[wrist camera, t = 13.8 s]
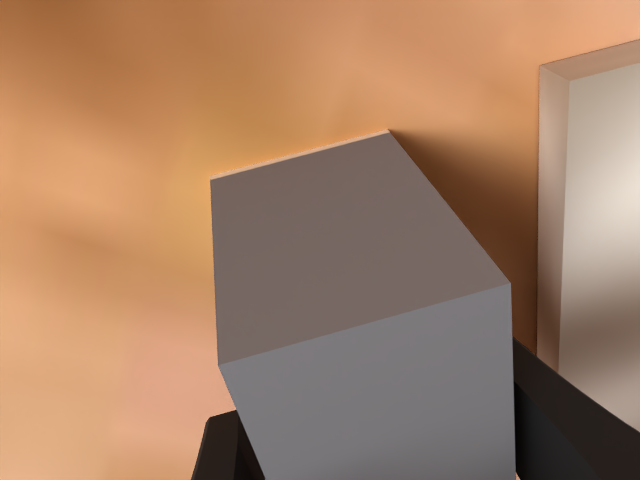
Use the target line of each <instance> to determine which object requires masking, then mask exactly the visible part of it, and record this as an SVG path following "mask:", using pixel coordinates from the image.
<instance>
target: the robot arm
mask: <svg viewBox="0 0 640 480" xmlns="http://www.w3.org/2000/svg"><path fill="white" fill-rule="evenodd" d="M512 345H513V386H514V426H515V466H516V473H517V475H518V476H519V478H520V480H640V432H639V431H638V430H636V429H635V428H633V427H631V426H630V425H628V424H627V423H625V422H624V421H622V420H621V419H620V418H618V417H617V416H615V415H614V414H612V413H611V412H609V411H608V410H607V409H605V408H604V407H602V406H601V405H600V404H598V403H597V402H595V401H594V400H593V399H591V398H590V397H589V396H587V395H586V394H585V393H583V392H582V391H580V390H579V389H578V388H576V387H575V386H574V385H572V384H571V383H570V382H568V381H567V380H566V379H564V378H563V377H562V376H561V375H559V374H558V373H557V372H556V371H554V370H553V369H552V368H550V367H549V366H548V365H547V364H545V363H544V362H543V361H542V360H540V359H539V358H538V357H537V356H536V355H534V354H533V353H532V352H531V351H529V350H528V349H527V348H526V347H525V346H523V345H522V344H521V343H520V342H519V341H517V340H516V339H515V338H514V337H512ZM191 480H266V479H265V476H264V474H263V471H262V469H261V467H260V464H259V462H258V459H257V457H256V455H255V452H254V450H253V447H252V445H251V443H250V440H249V438H248V436H247V433H246V431H245V428H244V426H243V424H242V421H241V419H240V416H239V414H238V412H237V410H234V411H231V412H227V413H224V414H220V415H216V416H213V417H210V418H209V419H208V420H207V422H206V425H205V429H204V434H203V438H202V442H201V446H200V450H199V454H198V457H197V461H196V465H195V468H194V471H193V475H192V478H191Z"/></svg>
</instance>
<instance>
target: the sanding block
mask: <svg viewBox="0 0 640 480" xmlns="http://www.w3.org/2000/svg"><path fill="white" fill-rule="evenodd" d="M210 186H211V210H212V233H213V257H214V280H215V304H216V327H217V351H218V366H219V369H220V371H221V374H222V376H223V378H224V381H225V383H226V385H227V388H228V390H229V393H230V395H231V397H232V400H233V402H234V405H235V407H236V409H237V412H238V414H239V416H240V419H241V421H242V424H243V426H244V428H245V431H246V433H247V436H248V438H249V440H250V443H251V445H252V447H253V450H254V452H255V455H256V457H257V459H258V462H259V464H260V467H261V469H262V471H263V474H264V476H265V478H266V480H516V466H515V426H514V386H513V345H512V305H511V283H510V281H509V280H508V279H507V278H506V276H505V275H504V274H503V273H502V271H501V270H500V269H499V268H498V266H497V265H496V264H495V263H494V261H493V260H492V259H491V258H490V256H489V255H488V254H487V253H486V251H485V250H484V249H483V248H482V246H481V245H480V244H479V243H478V241H477V240H476V239H475V238H474V236H473V235H472V234H471V233H470V231H469V230H468V229H467V228H466V226H465V225H464V224H463V223H462V221H461V220H460V219H459V218H458V216H457V215H456V214H455V213H454V211H453V210H452V209H451V208H450V206H449V205H448V204H447V203H446V201H445V200H444V199H443V198H442V196H441V195H440V194H439V193H438V191H437V190H436V189H435V188H434V186H433V185H432V184H431V183H430V181H429V180H428V179H427V178H426V176H425V175H424V174H423V173H422V171H421V170H420V169H419V168H418V166H417V165H416V164H415V163H414V161H413V160H412V159H411V158H410V156H409V155H408V154H407V153H406V151H405V150H404V149H403V148H402V146H401V145H400V144H399V143H398V141H397V140H396V139H395V138H394V137H393V135H392V134H391V133H390V132H389V130H388V129H386V130H382V131H379V132H375V133H371V134H367V135H363V136H360V137H356V138H352V139H348V140H344V141H340V142H337V143H333V144H329V145H325V146H321V147H318V148H314V149H310V150H306V151H302V152H299V153H295V154H291V155H287V156H283V157H280V158H276V159H272V160H268V161H264V162H261V163H257V164H253V165H249V166H245V167H241V168H238V169H234V170H230V171H226V172H222V173H219V174H215V175H211V176H210Z"/></svg>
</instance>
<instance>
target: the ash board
mask: <svg viewBox="0 0 640 480" xmlns="http://www.w3.org/2000/svg"><path fill="white" fill-rule="evenodd" d="M537 357H538V358H539V359H540V360H542V361H543V362H544V363H545V364H547V365H548V366H549V367H550V368H552V369H553V370H554V371H556V372H557V373H558V374H559V375H561V376H562V377H563V378H564V379H566V380H567V381H568V382H570V383H571V384H572V385H574V386H575V387H576V388H578V389H579V390H580V391H582V392H583V393H585V394H586V395H587V396H589V397H590V398H591V399H593V400H594V401H595V402H597V403H598V404H600V405H601V406H602V407H604V408H605V409H607V410H608V411H609V412H611V413H612V414H614V415H615V416H617V417H618V418H620V419H621V420H622V421H624V422H625V423H627V424H628V425H630V426H631V427H633V428H635V429H636V430H638V431H639V432H640V40H636V41H632V42H628V43H624V44H621V45H617V46H613V47H609V48H605V49H601V50H597V51H594V52H590V53H586V54H582V55H578V56H574V57H570V58H567V59H563V60H559V61H555V62H551V63H547V64H544V65H540V79H539V187H538V295H537Z"/></svg>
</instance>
